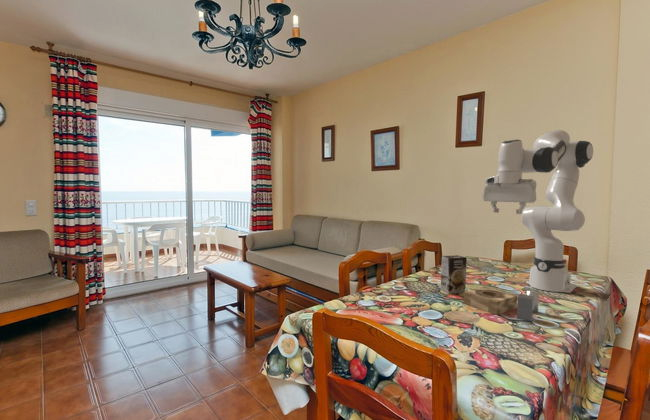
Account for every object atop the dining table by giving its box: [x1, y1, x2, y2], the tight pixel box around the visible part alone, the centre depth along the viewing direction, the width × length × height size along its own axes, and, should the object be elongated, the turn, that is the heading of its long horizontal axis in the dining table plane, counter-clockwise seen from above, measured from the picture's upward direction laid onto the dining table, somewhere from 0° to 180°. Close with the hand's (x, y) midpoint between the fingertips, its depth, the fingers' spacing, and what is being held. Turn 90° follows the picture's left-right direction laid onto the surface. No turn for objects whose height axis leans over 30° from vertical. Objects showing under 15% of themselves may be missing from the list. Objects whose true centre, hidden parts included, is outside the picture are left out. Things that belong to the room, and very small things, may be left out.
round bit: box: [525, 289, 540, 315], centre depth 124 cm, size 4×4×8 cm
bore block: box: [462, 286, 518, 316], centre depth 130 cm, size 14×14×5 cm
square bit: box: [516, 293, 534, 323], centre depth 118 cm, size 4×4×8 cm
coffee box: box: [440, 255, 468, 295], centre depth 149 cm, size 9×6×16 cm
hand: (507, 213), depth 134 cm, fingers open, 8 cm apart
